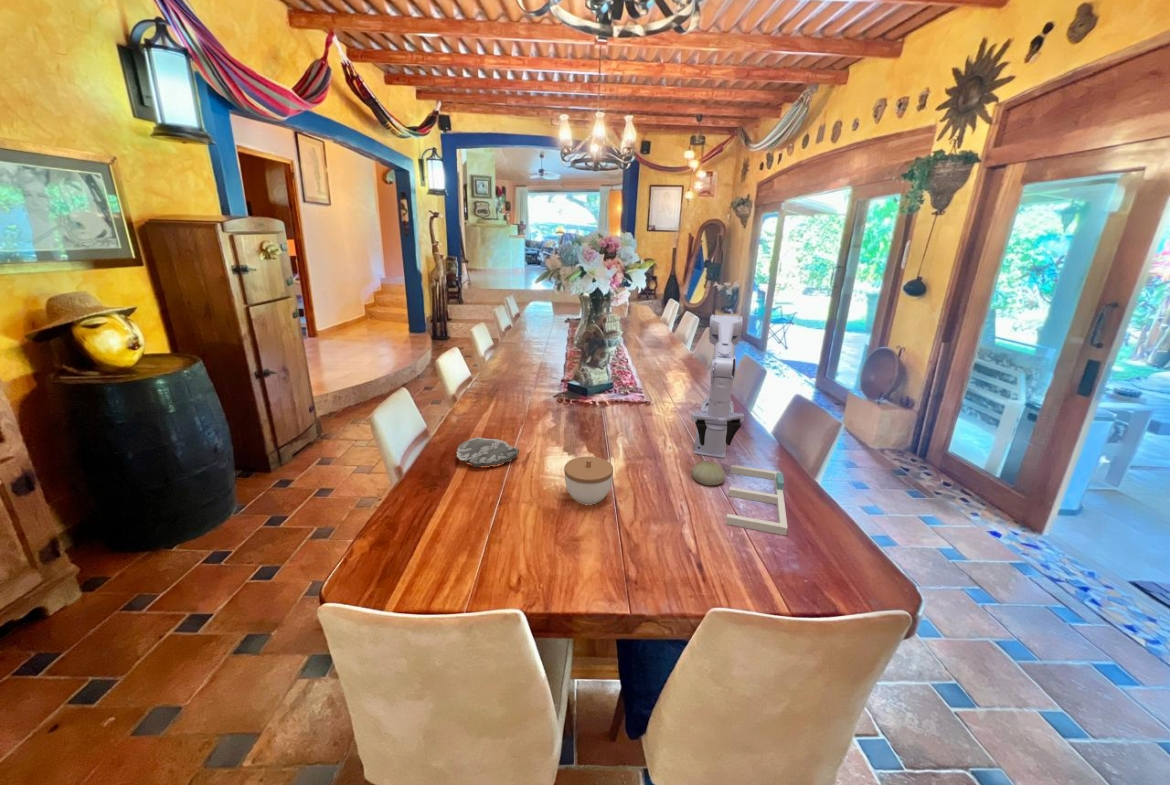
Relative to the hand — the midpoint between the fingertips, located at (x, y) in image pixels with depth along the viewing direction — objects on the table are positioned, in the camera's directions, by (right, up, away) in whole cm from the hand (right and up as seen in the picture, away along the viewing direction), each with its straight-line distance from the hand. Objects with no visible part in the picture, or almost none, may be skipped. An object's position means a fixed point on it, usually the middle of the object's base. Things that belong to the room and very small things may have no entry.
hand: (714, 444), depth 135 cm
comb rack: (+8, -13, -11) cm, 19 cm away
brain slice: (-68, -6, +10) cm, 69 cm away
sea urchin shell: (-2, -10, -1) cm, 11 cm away
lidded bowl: (-37, -13, -12) cm, 41 cm away
